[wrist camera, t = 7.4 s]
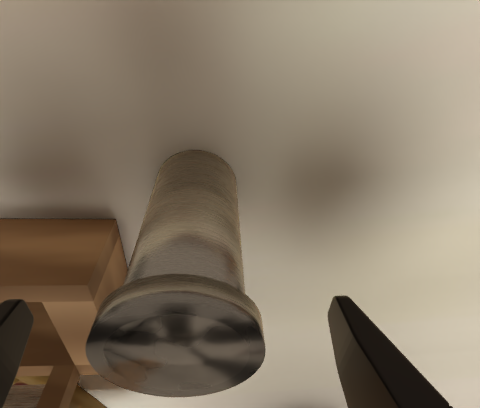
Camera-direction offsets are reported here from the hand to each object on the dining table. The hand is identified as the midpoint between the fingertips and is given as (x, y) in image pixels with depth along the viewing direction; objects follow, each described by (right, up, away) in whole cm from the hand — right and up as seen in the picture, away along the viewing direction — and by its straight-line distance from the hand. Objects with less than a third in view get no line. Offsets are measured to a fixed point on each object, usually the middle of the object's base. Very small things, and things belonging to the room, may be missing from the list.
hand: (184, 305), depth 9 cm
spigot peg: (0, +4, +5) cm, 6 cm away
